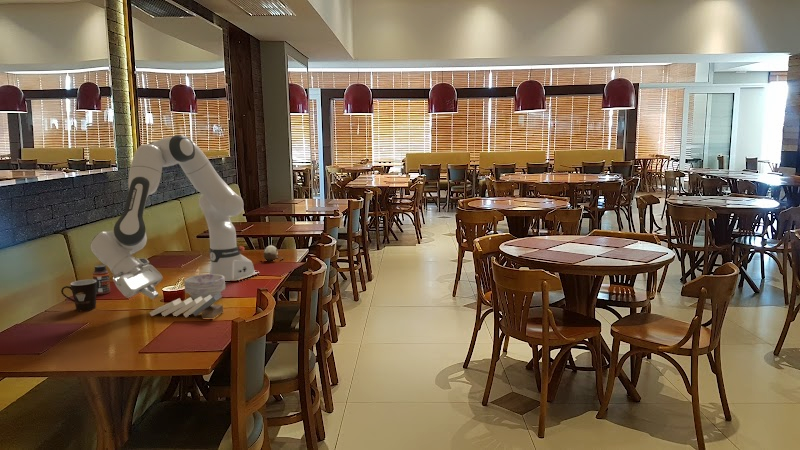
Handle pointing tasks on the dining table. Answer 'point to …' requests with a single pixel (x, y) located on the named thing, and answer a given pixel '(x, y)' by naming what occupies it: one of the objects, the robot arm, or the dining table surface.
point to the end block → (212, 311)
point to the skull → (271, 253)
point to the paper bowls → (204, 285)
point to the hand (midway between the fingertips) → (155, 297)
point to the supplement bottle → (101, 279)
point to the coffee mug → (83, 294)
